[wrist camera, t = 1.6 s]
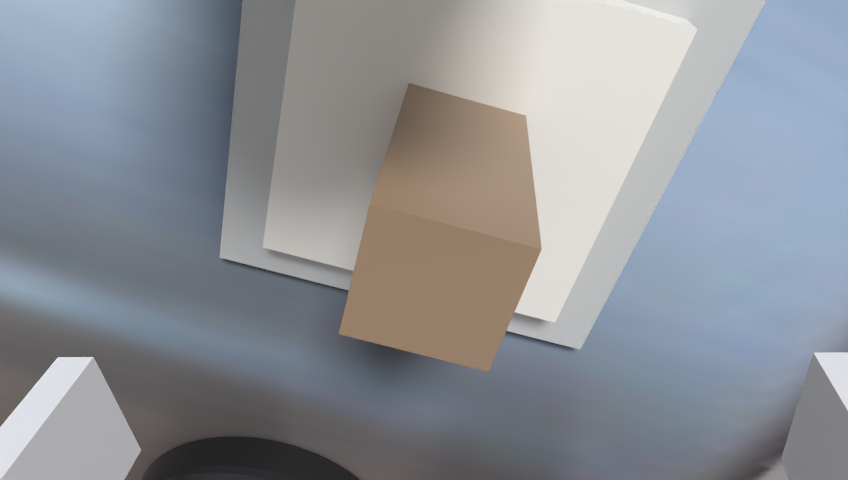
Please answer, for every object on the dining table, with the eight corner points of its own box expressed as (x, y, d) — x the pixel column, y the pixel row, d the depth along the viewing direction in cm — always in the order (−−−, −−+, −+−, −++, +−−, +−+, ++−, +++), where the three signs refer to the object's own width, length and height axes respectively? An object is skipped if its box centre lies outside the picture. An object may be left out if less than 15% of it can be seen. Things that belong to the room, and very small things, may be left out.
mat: (578, 340, 28) (580, 349, 28) (224, 249, 27) (219, 257, 27) (773, -32, 20) (781, -28, 19) (265, -184, 19) (259, -184, 18)
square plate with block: (552, 303, 27) (577, 496, 19) (271, 231, 26) (178, 400, 18) (687, 19, 20) (807, 138, 12) (316, -89, 19) (201, -34, 12)
